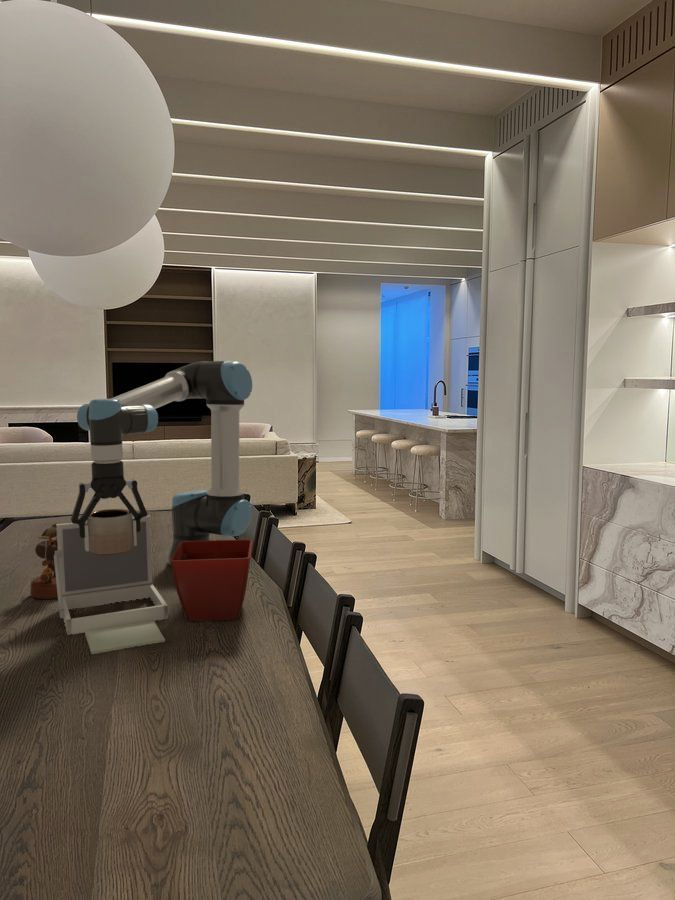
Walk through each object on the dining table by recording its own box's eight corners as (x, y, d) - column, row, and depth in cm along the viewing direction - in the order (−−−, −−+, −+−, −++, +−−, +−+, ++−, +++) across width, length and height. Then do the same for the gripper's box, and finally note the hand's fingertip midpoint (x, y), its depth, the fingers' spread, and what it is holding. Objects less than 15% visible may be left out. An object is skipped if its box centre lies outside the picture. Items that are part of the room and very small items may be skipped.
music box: (69, 600, 184) (65, 528, 181) (25, 603, 181) (21, 530, 179) (77, 583, 198) (74, 516, 196) (37, 586, 196) (33, 518, 194)
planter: (94, 545, 177) (93, 509, 175) (137, 544, 177) (136, 508, 176) (82, 556, 166) (81, 518, 165) (128, 555, 167) (126, 517, 166)
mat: (153, 622, 168) (153, 620, 168) (164, 641, 156) (164, 639, 156) (84, 633, 161) (84, 631, 161) (91, 654, 149) (91, 651, 149)
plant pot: (182, 601, 184) (180, 540, 182) (253, 598, 185) (252, 538, 183) (171, 627, 165) (169, 560, 163) (250, 625, 166) (249, 558, 164)
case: (152, 595, 188) (149, 515, 185) (168, 618, 170) (165, 531, 168) (56, 608, 177) (51, 524, 175) (62, 635, 159) (57, 542, 157)
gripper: (151, 456, 177) (154, 538, 180) (55, 462, 167) (60, 549, 170) (157, 459, 171) (160, 545, 173) (58, 466, 160) (63, 556, 163)
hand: (111, 547), depth 172 cm, fingers closed on planter, 11 cm apart
